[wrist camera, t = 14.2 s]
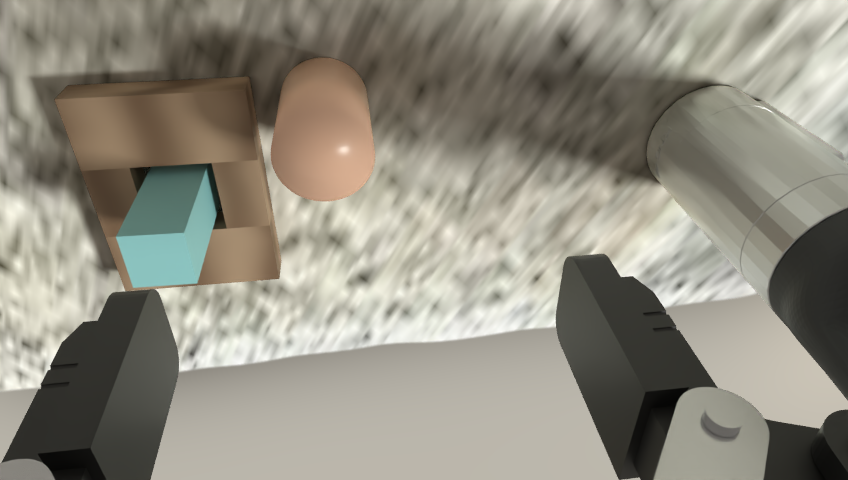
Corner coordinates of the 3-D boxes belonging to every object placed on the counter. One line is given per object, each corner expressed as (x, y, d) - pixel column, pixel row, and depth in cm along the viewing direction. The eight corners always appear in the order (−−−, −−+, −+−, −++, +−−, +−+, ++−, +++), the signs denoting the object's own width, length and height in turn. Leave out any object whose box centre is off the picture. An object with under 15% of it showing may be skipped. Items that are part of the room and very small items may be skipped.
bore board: (249, 76, 42) (245, 89, 40) (281, 260, 52) (279, 278, 50) (67, 85, 41) (54, 99, 39) (133, 271, 50) (125, 291, 48)
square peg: (210, 157, 46) (184, 232, 37) (220, 203, 48) (197, 283, 40) (154, 160, 45) (115, 236, 37) (167, 206, 47) (133, 287, 39)
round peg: (365, 55, 43) (372, 105, 35) (369, 136, 46) (377, 197, 39) (274, 59, 42) (263, 111, 35) (286, 141, 46) (278, 204, 38)
